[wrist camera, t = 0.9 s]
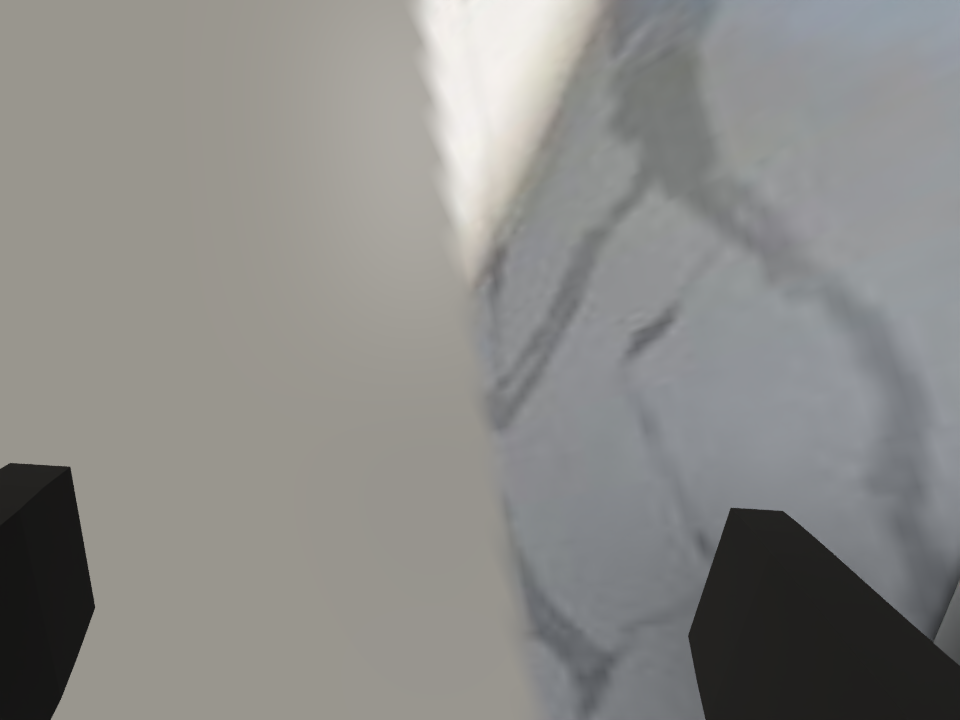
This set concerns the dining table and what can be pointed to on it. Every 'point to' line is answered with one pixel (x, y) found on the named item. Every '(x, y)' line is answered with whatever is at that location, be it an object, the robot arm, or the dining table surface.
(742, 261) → the dining table surface
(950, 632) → the channel
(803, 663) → the robot arm
